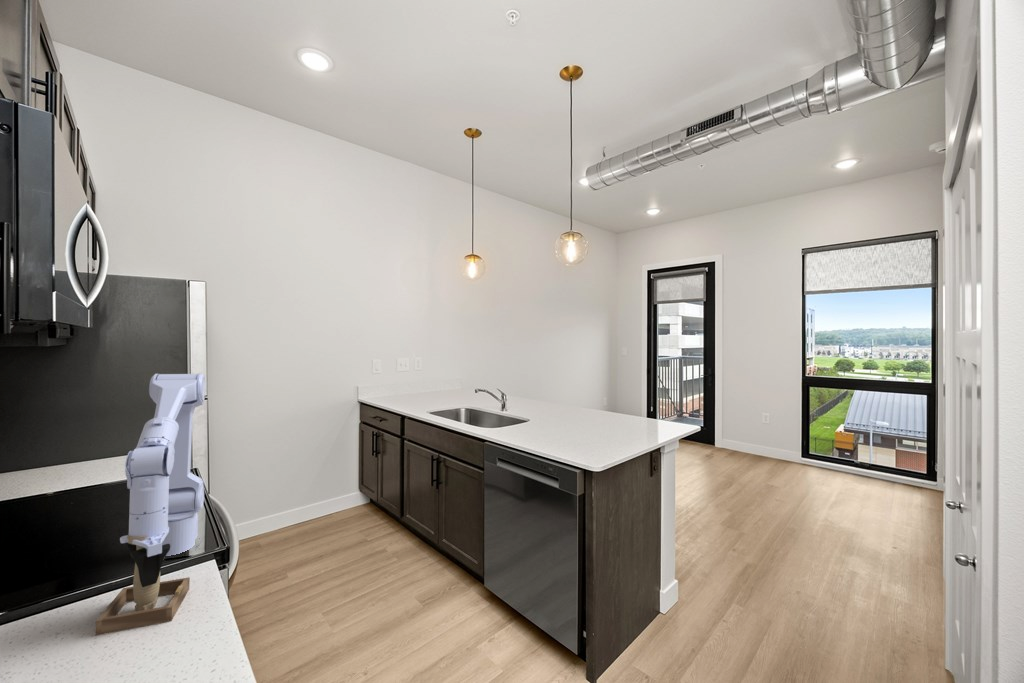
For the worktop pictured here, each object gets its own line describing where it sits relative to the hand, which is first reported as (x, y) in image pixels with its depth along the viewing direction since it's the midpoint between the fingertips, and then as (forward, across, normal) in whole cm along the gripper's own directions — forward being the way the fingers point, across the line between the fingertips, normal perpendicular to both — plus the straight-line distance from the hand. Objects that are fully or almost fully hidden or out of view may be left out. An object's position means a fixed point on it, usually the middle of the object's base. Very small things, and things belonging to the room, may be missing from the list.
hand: (147, 579), depth 81 cm
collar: (+6, 0, 0) cm, 6 cm away
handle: (+6, 0, 0) cm, 6 cm away
